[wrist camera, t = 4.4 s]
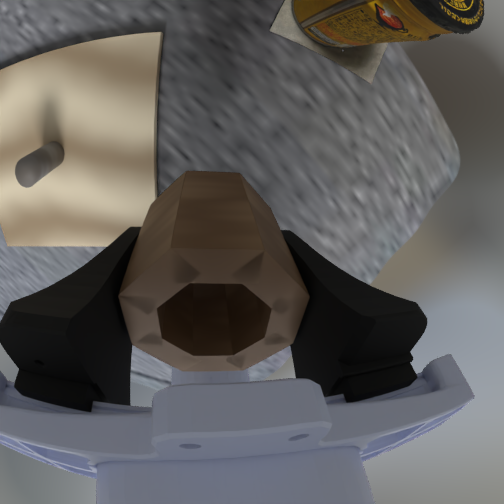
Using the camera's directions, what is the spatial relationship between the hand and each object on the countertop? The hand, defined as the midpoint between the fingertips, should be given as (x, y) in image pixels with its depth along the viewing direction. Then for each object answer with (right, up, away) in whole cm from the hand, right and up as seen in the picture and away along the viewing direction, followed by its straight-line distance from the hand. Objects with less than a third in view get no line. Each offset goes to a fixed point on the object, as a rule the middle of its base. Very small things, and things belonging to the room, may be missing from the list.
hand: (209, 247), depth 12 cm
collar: (0, +1, +1) cm, 2 cm away
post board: (-13, +7, +4) cm, 15 cm away
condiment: (+8, +17, +2) cm, 19 cm away
